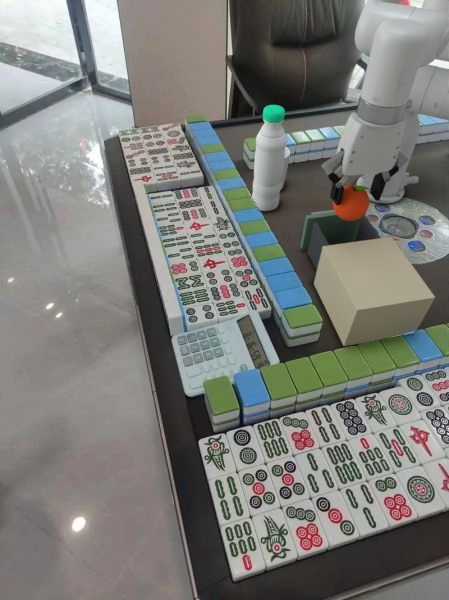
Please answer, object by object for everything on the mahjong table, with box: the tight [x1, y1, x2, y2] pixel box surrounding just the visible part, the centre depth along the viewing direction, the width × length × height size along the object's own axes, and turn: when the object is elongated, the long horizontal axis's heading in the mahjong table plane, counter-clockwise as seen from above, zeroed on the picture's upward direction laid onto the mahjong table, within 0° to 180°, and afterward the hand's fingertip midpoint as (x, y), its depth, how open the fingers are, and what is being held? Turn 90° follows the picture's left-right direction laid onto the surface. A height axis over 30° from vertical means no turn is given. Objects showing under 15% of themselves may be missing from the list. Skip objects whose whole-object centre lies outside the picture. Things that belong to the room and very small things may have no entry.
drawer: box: [299, 209, 381, 271], centre depth 93 cm, size 20×14×9 cm
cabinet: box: [313, 236, 436, 347], centre depth 84 cm, size 17×15×11 cm
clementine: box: [332, 184, 372, 221], centre depth 85 cm, size 8×7×7 cm
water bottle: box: [251, 104, 288, 212], centre depth 102 cm, size 7×7×25 cm
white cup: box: [280, 145, 291, 191], centre depth 113 cm, size 8×8×10 cm
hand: (355, 198), depth 84 cm, fingers closed on clementine, 7 cm apart
